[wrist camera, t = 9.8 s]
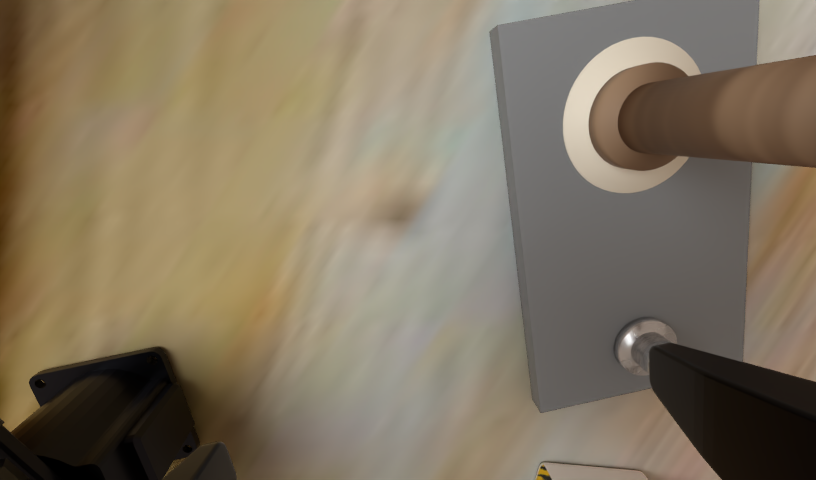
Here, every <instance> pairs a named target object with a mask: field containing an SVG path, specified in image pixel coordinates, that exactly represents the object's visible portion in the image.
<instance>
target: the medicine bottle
mask: <svg viewBox="0 0 816 480" xmlns="http://www.w3.org/2000/svg"><path fill="white" fill-rule="evenodd" d="M535 480H648V479H647V477H646V476H645V475H644V474H643V473H642V472H641V471H636V470H625V469H614V468H603V467H592V466H581V465H570V464H558V463H547V462H544V463H541V464H540V466H539V468H538V471H537V474H536V478H535Z"/></svg>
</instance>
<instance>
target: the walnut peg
mask: <svg viewBox="0 0 816 480" xmlns="http://www.w3.org/2000/svg"><path fill="white" fill-rule="evenodd" d="M589 135H590V139H591V142H592V145H593V147H594V149H595V150H596V152H597V153H598V155H599V156H600V157H601V158H602V159H603V160H604V161H606V162H607V163H609V164H611V165H613V166H615V167H618V168H624V169H630V170H637V171H647V170H653V169H657V168H659V167H662V166H664V165H666V164H668V163H670V162H671V161H672V160H674V159H675V158H676V157H677V156H685V157H697V158H708V159H720V160H732V161H744V162H755V163H767V164H779V165H791V166H802V167H814V168H816V55H814V56H808V57H802V58H796V59H790V60H784V61H778V62H772V63H766V64H760V65H754V66H748V67H742V68H735V69H729V70H723V71H717V72H711V73H705V74H699V75H693V76H688V75H687V74H686V73H685V72H684V71H682V70H681V69H680V68H678V67H676V66H674V65H671V64H668V63H663V62H653V63H647V64H643V65H638V66H634V67H630V68H627V69H625V70H622V71H620V72H619V73H617V74H615V75H614V76H613V77H611V78H610V79H609V80H608V81H607V82H606V83H605V84H604V85H603V86H602V88H601V89H600V90H599V92H598V94H597V95H596V97H595V99H594V101H593V104H592V107H591V110H590V114H589Z"/></svg>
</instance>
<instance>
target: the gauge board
mask: <svg viewBox="0 0 816 480" xmlns="http://www.w3.org/2000/svg"><path fill="white" fill-rule="evenodd" d="M758 21H759V0H634V1H628V2H623V3H617V4H612V5H606V6H601V7H595V8H590V9H584V10H579V11H573V12H568V13H562V14H557V15H551V16H546V17H540V18H534V19H529V20H523V21H518V22H512V23H507V24H501V25H497V26H496V27H495V28H493V29H492V30H491V31H490V40H491V48H492V57H493V65H494V74H495V82H496V91H497V100H498V108H499V117H500V125H501V134H502V143H503V151H504V160H505V168H506V177H507V185H508V194H509V203H510V211H511V220H512V228H513V237H514V246H515V254H516V263H517V271H518V280H519V288H520V297H521V306H522V314H523V323H524V331H525V340H526V349H527V357H528V366H529V374H530V383H531V391H532V400H533V401H534V403H535V405H536V406H537V408H538V409H539V411H540V413H543V412H548V411H552V410H557V409H561V408H565V407H570V406H574V405H579V404H583V403H588V402H592V401H596V400H601V399H605V398H610V397H614V396H618V395H623V394H627V393H632V392H636V391H641V390H645V389H649V388H652V387H651V384H650V380H649V375H645V376H640V375H635V374H632V373H630V372H629V371H627V370H626V369H625V368H624V367H623V366H622V365H621V364H620V363H619V362H618V361H617V360H616V358H615V355H614V350H613V346H614V341H615V338H616V336H617V334H618V333H619V331H620V330H621V329H622V328H623V327H624V326H625V325H626V324H627V323H629V322H630V321H632V320H634V319H637V318H640V317H653V318H656V319H659V320H660V321H662V322H663V323H665V324H666V325H668V326H669V327H671V328H672V330H673V331H674V333H675V335H676V338H677V344H679V345H682V346H686V347H690V348H693V349H697V350H701V351H704V352H708V353H712V354H715V355H719V356H723V357H726V358H730V359H734V360H737V361H741V362H743V345H744V324H745V302H746V280H747V259H748V237H749V216H750V194H751V172H752V162H744V161H732V160H720V159H708V158H697V157H685V156H677V157H676V158H675V159H674V160H672V161H671V162H670V163H668V164H666V165H664V166H662V167H659V168H657V169H653V170H647V171H637V170H630V169H624V168H618V167H615V166H613V165H611V164H609V163H607V162H606V161H604V160H603V159H602V158H601V157H600V156H599V155H598V153H597V152H596V150H595V149H594V147H593V145H592V142H591V139H590V135H589V114H590V110H591V107H592V104H593V101H594V99H595V97H596V95H597V94H598V92H599V90H600V89H601V88H602V86H603V85H604V84H605V83H606V82H607V81H608V80H609V79H610V78H611V77H613V76H614V75H615V74H617V73H619V72H620V71H622V70H625V69H627V68H630V67H634V66H638V65H643V64H647V63H653V62H663V63H668V64H671V65H674V66H676V67H678V68H680V69H681V70H682V71H684V72H685V73H686V74H687V75H688V76H693V75H699V74H705V73H711V72H717V71H723V70H729V69H735V68H742V67H748V66H754V65H756V64H757V42H758Z"/></svg>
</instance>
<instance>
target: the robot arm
mask: <svg viewBox="0 0 816 480" xmlns="http://www.w3.org/2000/svg"><path fill="white" fill-rule="evenodd" d="M151 356H154V357H156V358H157V361H155V360H153V359H152V358H151ZM41 380H43V381H45V383H46V384H45V383H43V382H42V381H41ZM649 380H650V384H651V387H652V389H653V391H654V392H655V394H656V395H657V397H658V398H659V399H660V401H661V402H662V403H663V405H664V406H665V408H666V409H667V410H668V412H669V413H670V414H671V416H672V417H673V418H674V420H675V421H676V422H677V424H678V425H679V427H680V428H681V429H682V431H683V432H684V433H685V435H686V436H687V437H688V439H689V440H690V441H691V443H692V444H693V446H694V447H695V448H696V449H697V451H698V452H699V453H700V455H701V456H702V457H703V458H704V459H705V461H706V462H707V463H708V464H709V465H710V466H711V468H712V469H713V470H714V471H715V472H716V473H717V475H718V476H719V477H720V478H721V479H722V480H816V382H814V381H810V380H807V379H803V378H799V377H796V376H792V375H788V374H785V373H781V372H777V371H774V370H770V369H766V368H763V367H759V366H755V365H752V364H748V363H744V362H741V361H737V360H734V359H730V358H726V357H723V356H719V355H715V354H712V353H708V352H704V351H701V350H697V349H693V348H690V347H686V346H682V345H679V344H675V343H664V344H659V345H655V346H652V347H651V348H650V350H649ZM29 384H30V387H31V389H32V391H33V393H34V395H35V397H36V399H37V401H38V403H39V405H40V408H39V409H38V410H36V411H35V412H34V413H33V414H32V415H31V416H29V417H28V418H27V419H26V420H25V421H23V422H22V423H21V424H20V425H19V426H18V427H16V428H15V429H14V430H13V431H12V432H9V431H8V430H7V429H6V428H5V427H4V426H3V425H2V424H3V423H4V421H2V420H1V419H0V480H237V477H236V472H235V469H234V467H233V464H232V461H231V458H230V456H229V453H228V450H227V447H226V446H225V444H224V443H223V442H221V441H218V442H213V443H209V444H204V445H201V446H200V441H199V438H198V436H197V433H196V431H195V428H194V420H193V418H192V415H191V412H190V410H189V407H188V405H187V402H186V400H185V397H184V394H183V392H182V389H181V387H180V385H179V384H178V383H177V382H176V379H175V377H174V374H173V372H172V369H171V366H170V364H169V361H168V359H167V356H166V354H165V352H164V351H163V350H162V349H160V348H157V347H155V348H148V349H143V350H139V351H134V352H129V353H124V354H119V355H115V356H110V357H105V358H100V359H96V360H91V361H86V362H81V363H76V364H72V365H67V366H62V367H57V368H53V369H48V370H43V371H40V372H38V373H37V374H35V375H34V376H33V377H32V378H31V379H30V381H29ZM187 445H190V446H191V447H188V446H187ZM199 446H200V447H199ZM186 457H187V458H186ZM181 458H186V459H185V460H184V461H182V462H181V463H180V464H179V465H178V466H177V467H176V468H174V469H173V470H172V471H171V472H170V473H169V474H168V475H166V476H165V474H166V472H167V471H168V469H169V467H170V466H171V464H172V462H173V460H177V459H181ZM164 476H165V477H164Z"/></svg>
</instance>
